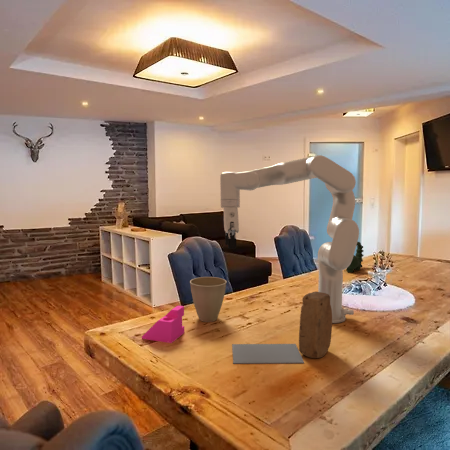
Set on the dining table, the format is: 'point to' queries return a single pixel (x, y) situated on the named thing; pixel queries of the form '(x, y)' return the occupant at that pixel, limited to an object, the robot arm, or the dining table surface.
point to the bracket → (167, 327)
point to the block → (315, 325)
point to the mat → (265, 353)
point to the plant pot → (208, 297)
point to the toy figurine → (356, 259)
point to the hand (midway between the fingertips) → (230, 246)
